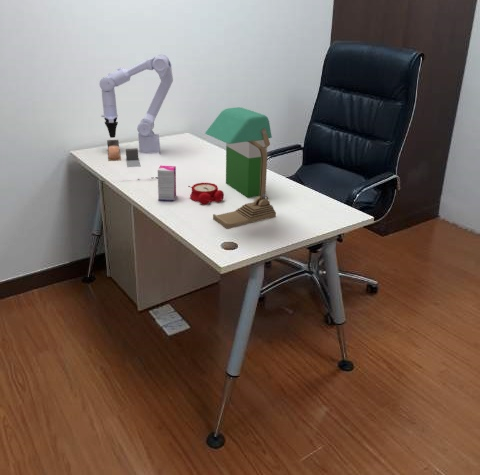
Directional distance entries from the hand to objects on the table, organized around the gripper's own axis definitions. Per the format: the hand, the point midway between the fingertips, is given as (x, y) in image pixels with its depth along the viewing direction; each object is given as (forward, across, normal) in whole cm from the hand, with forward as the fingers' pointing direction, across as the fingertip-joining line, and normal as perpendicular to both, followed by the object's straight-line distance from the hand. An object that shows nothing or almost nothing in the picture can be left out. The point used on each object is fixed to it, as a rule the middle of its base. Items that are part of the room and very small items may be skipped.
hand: (112, 135), depth 223 cm
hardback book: (+9, +58, +47) cm, 75 cm away
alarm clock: (+9, +65, +31) cm, 72 cm away
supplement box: (+9, +62, +17) cm, 64 cm away
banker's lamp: (+9, +84, +39) cm, 93 cm away
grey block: (+8, +20, +7) cm, 23 cm away
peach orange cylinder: (+8, +8, 0) cm, 11 cm away
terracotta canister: (+7, +12, 0) cm, 14 cm away
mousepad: (+9, +40, +18) cm, 45 cm away
